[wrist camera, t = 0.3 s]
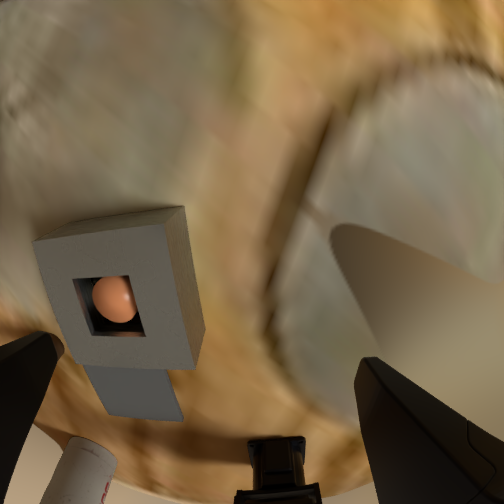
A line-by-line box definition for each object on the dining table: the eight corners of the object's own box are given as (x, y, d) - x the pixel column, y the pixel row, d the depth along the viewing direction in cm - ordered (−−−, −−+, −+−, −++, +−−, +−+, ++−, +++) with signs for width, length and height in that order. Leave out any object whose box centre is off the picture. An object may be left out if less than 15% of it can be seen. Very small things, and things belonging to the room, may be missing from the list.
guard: (205, 329, 24) (195, 369, 19) (99, 330, 24) (76, 363, 19) (184, 206, 20) (163, 223, 16) (68, 222, 21) (32, 241, 16)
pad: (183, 417, 28) (182, 421, 27) (110, 411, 28) (109, 414, 27) (161, 353, 25) (159, 358, 24) (80, 350, 25) (77, 353, 24)
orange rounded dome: (150, 308, 21) (142, 322, 19) (111, 309, 21) (100, 322, 19) (139, 264, 20) (129, 276, 18) (99, 268, 20) (86, 279, 18)
